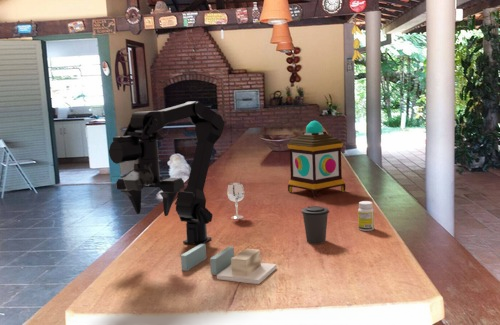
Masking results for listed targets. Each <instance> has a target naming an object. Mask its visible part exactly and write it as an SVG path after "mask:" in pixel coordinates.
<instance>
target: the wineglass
mask: <svg viewBox="0 0 500 325" xmlns="http://www.w3.org/2000/svg"><path fill="white" fill-rule="evenodd" d="M244 197H245V190H244V186H243V183H242V182H231V183H228V186H227V198H228V199H229V200H230V201H231V202H234V206H235V211H236V212H235V215H233V216H231V218H230V219H231V220H232V219H233V220H241V219H244V216H243V215H239V213H238V207H239V204H238V202H240V201H242V200H243V199H244Z"/></svg>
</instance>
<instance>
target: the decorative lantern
mask: <svg viewBox="0 0 500 325" xmlns="http://www.w3.org/2000/svg"><path fill="white" fill-rule="evenodd" d="M286 145H287V148H288V150H289V163H290V164H289V165H290V179H289V181H288V184H287V191H288V192H289V193H292V192H293V188H297V189H303V190H306V191H311V193H312V197H313V198H314V199H316V198H317V195H318V194H317V193H318V192H319V191H323V190H328V189H333V188H337V187H340V190H341V193H344V192H346V182H345V180H344V179H343V177H342V176H343V175H342V173H343V172H342V148H343V146H344V141H342V140H341V139H339V137H333V136H332V135H330V134H329V133H327V131H324V128H323V125H322V124H321V123H320V122H319V121H318V120H312V121H310V122H309V123H308V124H307V125H306V128H305V132H302V133H301V134H300V135H299V136H298V137H297V138H292V139H291V140H290V141H288V143H286Z"/></svg>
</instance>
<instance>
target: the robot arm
mask: <svg viewBox="0 0 500 325" xmlns="http://www.w3.org/2000/svg"><path fill="white" fill-rule="evenodd" d="M187 118H189V122H190V123H191V124H192V125H193V126H195V127H194V128H195V129H194V133H195V137H196V140H197V142H196V147H195V150H194V155H193V159H192V164H191V167H190V173H189V177H188V181H187V185H186V188H185V181H184V180H183V178H182V177H169V178H165V179H164V177H163V176H164V175H161V174H160V173H161V172H160V165H162V164H163V163H162V162H163V161H162V160H160V158H159V149H158V148H159V147H158V141H163V140H164V139H165V138H164V136H162V134H160V133H159V131H161V130H162V129H163V128H164V127H165V126H167V125H168V124H171V123H174V122H178V121H180V120H183V119H187ZM129 120H130V121H129V123H128V125H127V128H126V129H125V131H124V133H123V135H122V136H113V138H112V142H111V143H110V145H109V149H108V154H109V158H110V160H111V161H112V162H113V163H114V164H116V165H117V164H123V163H128V162H134V161H136V162H134V164H133V170H132V171H131V172H128V174H126V176H124V177H120V178H117V181H116V183H115V185H116V190H119V191H120V193H123V194H125V195H126V196H127V197H128V199H129V201H130V203H131V205H132V207H133V209H134V211H135V213H136V214H137V215H139V214H141V212H142V211H141V210H142V190H143V189H144V188H159V189H160V190H161V192H159V195H160V196H161V197H162V206H163V215H164V217H167V216H168V215H169V213H170V210H171V208H172V204H173V202H174V200H175V199H176V201H175V202H174V205H175V212H176V213H177V215H178V217H179V220H180V222H184V223H185V222H186V223H185V226H186V231H185V232H186V239H185V240H183V241H182V243H183V244H188V245H189V244H190V245H196V246H198V245H199V244H206V243H207V242H209V241H211V240H212V237H211V236H208V232H207V224H210V223H211V222H212V221H213V213H212V212H210V210H209V209H208V208H207V207H206V204H207V199H206V195H205V191H204V189H205V184H206V179H207V175H208V172H209V171H208V170H209V168H210V162H211V157H212V153H213V150H214V149H213V148H214V147H215V146H214V145H215V144H216V143H217V142H218V140H219V139H220V138H221V135H222V133H223V132H224V131H223V130H224V127H225V121H224V119H223V117H222V116H221V115H220V114H218V113H217V112H216V111H214V110H212V109H211V108H209V107H207V106H205V105H204V103H202V102H201V101H199V100H197V101H196V100H195V101H186V102H185V103H181V104H177V105H174V106H171V107H167V108H163V109H160V110H147V111H143V110H142V111H135V112H133V113H132V114H131V117H130V119H129ZM182 189H184V190H183V191H182ZM176 195H177V197H176Z"/></svg>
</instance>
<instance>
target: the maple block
mask: <svg viewBox="0 0 500 325" xmlns="http://www.w3.org/2000/svg"><path fill="white" fill-rule="evenodd" d="M261 257H262V256H261V249H255V248H245V249H243V250H241V251H240V252H239V253H237V254H234V257H232V258H231V266H232V275H240V276H248V275H249V274H251V273H252V272H253V271H254V270H256V269H257V268H258V267H259V266H261V263H262V262H261V260H262V259H261Z"/></svg>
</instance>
